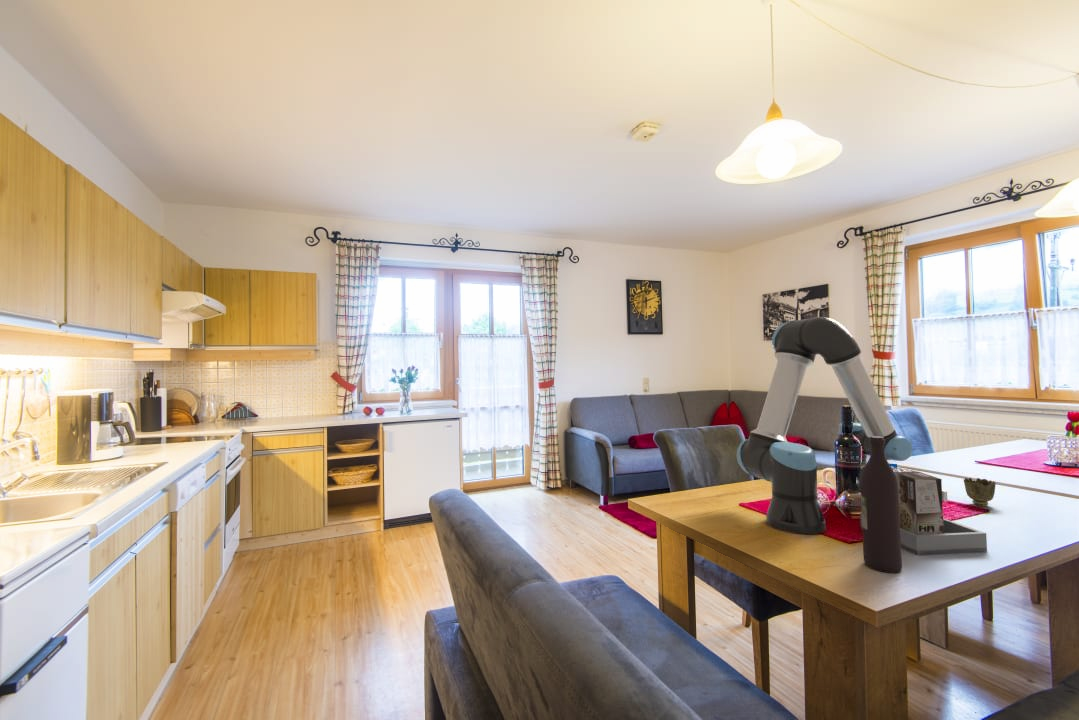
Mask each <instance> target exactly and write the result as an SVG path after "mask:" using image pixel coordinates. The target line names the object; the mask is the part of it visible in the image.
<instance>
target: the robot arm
mask: <svg viewBox="0 0 1079 720" xmlns="http://www.w3.org/2000/svg"><path fill="white" fill-rule="evenodd" d="M771 337H772V338H771V345H773V347H772V348H773V349H774V355H773V356H774V358H775V359H776V360H777V361H776V365H775V369H774V371H773V374H772V379H771V382H770V384H769V388H768V391H767V395H766V398H765V400H764V404H763V408H762V411H761V414H760V417H759V420H758V424H757V426H756V428H755V429H753V430H751V431H750V433H749V436H748V439H747V438H746V439H745V440H743V441H742V442H741V443H739V445H738V447H737V450H736V459H737V463H738V465H739V467H740V468H741V470H743V471H744V472H745V473H746V474H749V475H750V476H752V477H754V478H757V479H761V480H764V481H765V482H766V481H767V482H769V483H771V499H770V502H769V505H768V509H767V512H766V523H767V524H768V525H769V526H770V527H772V528H774V529H777V530H779V531H783V532H788V533H792V534H800V535H814V534H815V535H817V534H822V533H825V531H826V530H827V526H826V519H825V516H824V515H823V512H822V510H821V509H822V508H821V506H820V504H819V501H818V471H817V469H818V463H817V459H816V453H815V451H814V449H812V448H811V447H810V446H807V445H804V444H800V443H797V442H796V443H794V442H792V441H791V442H790V441H788V440H787V438H786V436H787V433H788V430H789V426H790V423H791V420H792V417H793V412H794V410H795V406H796V403H797V399H798V397H799V393H800V390H801V387H802V383H803V379H804V376H805V374H806V370H807V368H808V367H810V366H812V365H814V362H815V360H816V355H820V356H821V357H822V358H823V361H824V362H825V364H826V365H827V366H831V367H832V369H833V372H834V374H835V376H836V378H837V380H838V382H839V384H840V385H841V388H842V389H843V392H844V394H845V396H846V398H847V400H848V402H849V404H850V407H851V408H852V409H853V412H854V414H855V416H856V418H857V420H858V422H852V423H853V430H852V431H853V435H854V436H856V437H858V438H859V440H860V443H861V446H862V449H863V451H862V452H863V460H862V463H861V471H860V473H859V477H856V483H855V484H856V486H857V487H858V491H859V493H860V494H861V474H862V471H863V469H864V467H865V465H866V464H867V462H868V461H867V459H868V458H867V457H868V456H870V455H871V444H870V440H869V439H870V437H871V436H879V437H884V439H885V445H884V453H885V457H886V460H887V461H888V460H889V461H897V462H904V461H906V460H908V459H909V458H910V457H911V456H912V454H913V449H914V447H913V444H912V441H911V440H910V439H908V438H907V436H906V437H905V436H903V435H898V433H897V432H896V429H895V427H894V424H893V423H892V421H891V419H890V417H889V415H888V413H887V410H886V409H885V407H884V405H883V402H882V400H881V398H880V396H879V394H878V392H877V390H876V389H875V386H874V384H873V382H872V381H871V380H872V379H871V378H870V376H869V374H868V371H867V370H866V367H865V365H864V363H863V362H862V360H861V358H860V356H861V354H862V350H861V348H860V345H859V344H858V342H857V341H856V339H855V337H854V336H853V335H852V333H851V332H850V331H849V330H848V329H847V328H846V327H845V326H844V325H842V324H841V323H840V322H838V321H836V320H835V319H833V318H830V317H826V316H817V317H813V318H812V317H811V318H806V319H793V320H789V321H787V322H784V323H782V324H781V325H779V326H778V327H777V328H776V329H775V330H774V332H773V334H772V336H771ZM842 423H843V422H842ZM842 423H840V424H839V425H838V434H837V436H838V439H839V438H840V437H841V436H842ZM833 467H834V471H835V472H836V470H835V463H834V464H833ZM947 502H948V491H946V490H944V489H942V503H947Z"/></svg>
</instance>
